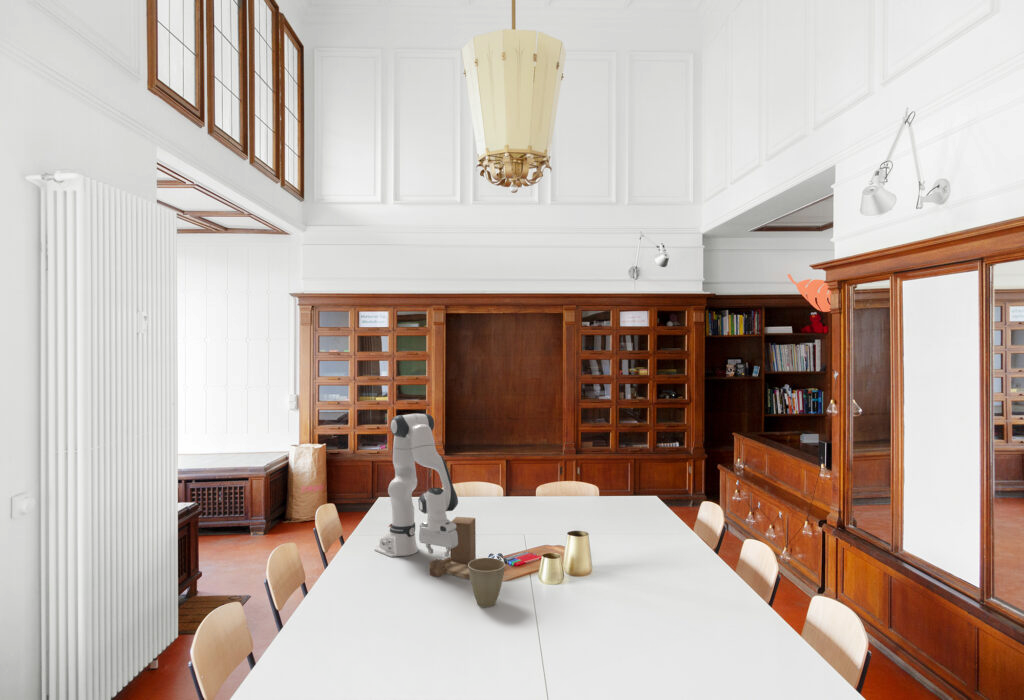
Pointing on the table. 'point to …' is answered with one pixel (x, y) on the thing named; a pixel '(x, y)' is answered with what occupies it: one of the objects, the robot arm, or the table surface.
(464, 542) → the wooden block
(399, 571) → the table surface
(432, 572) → the block
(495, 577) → the plant pot
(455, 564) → the board
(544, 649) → the table surface
